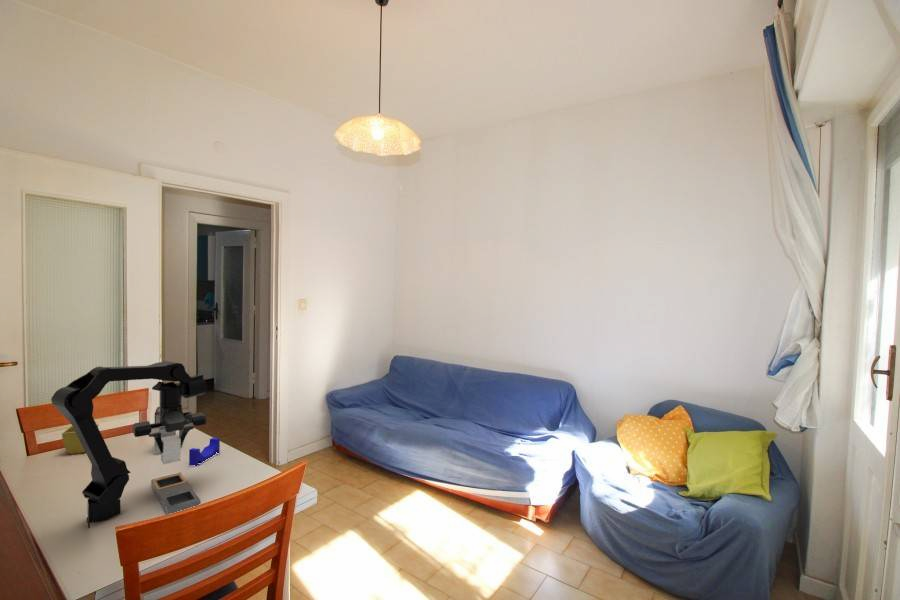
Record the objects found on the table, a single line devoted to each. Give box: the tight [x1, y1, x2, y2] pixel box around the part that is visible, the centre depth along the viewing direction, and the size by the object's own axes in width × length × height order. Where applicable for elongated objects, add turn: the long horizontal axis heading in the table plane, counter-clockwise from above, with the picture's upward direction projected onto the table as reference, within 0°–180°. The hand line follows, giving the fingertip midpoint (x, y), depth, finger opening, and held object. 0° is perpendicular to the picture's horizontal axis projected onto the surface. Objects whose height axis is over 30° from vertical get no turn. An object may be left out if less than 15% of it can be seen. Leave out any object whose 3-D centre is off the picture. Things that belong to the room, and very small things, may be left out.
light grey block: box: [160, 434, 182, 465], centre depth 132 cm, size 4×4×7 cm
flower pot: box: [61, 423, 100, 455], centre depth 161 cm, size 9×9×9 cm
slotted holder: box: [150, 472, 201, 515], centre depth 128 cm, size 8×24×3 cm, turn 44°
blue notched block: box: [188, 437, 221, 467], centre depth 157 cm, size 12×4×6 cm, turn 172°
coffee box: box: [153, 406, 177, 455], centre depth 165 cm, size 9×6×16 cm
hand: (170, 450), depth 132 cm, fingers closed on light grey block, 4 cm apart
